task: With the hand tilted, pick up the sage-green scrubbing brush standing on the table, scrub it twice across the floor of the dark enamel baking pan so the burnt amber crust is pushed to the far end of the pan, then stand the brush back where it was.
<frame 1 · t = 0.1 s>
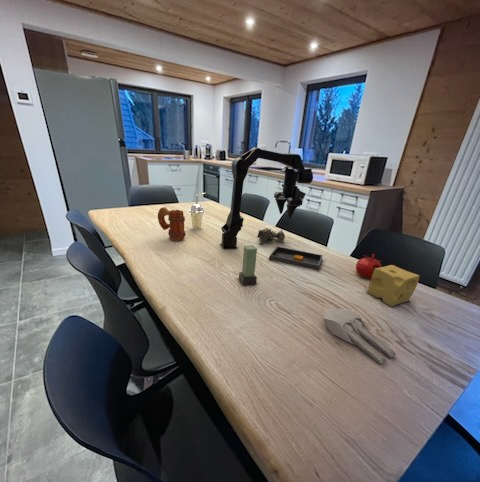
hand: (285, 216, 130), 15 cm above the table, tool pointing down, fingers open, 9 cm apart
turret: (353, 338, 72), on the table
pan: (295, 260, 118), on the table
pomegranate: (366, 275, 109), on the table
mug: (172, 238, 133), on the table
crust: (298, 259, 117), point 1 cm above the table, touching pan
cup with straw: (197, 229, 150), on the table
cheese: (387, 297, 94), on the table
brown spiky lump: (270, 242, 139), on the table
brush: (247, 281, 97), on the table
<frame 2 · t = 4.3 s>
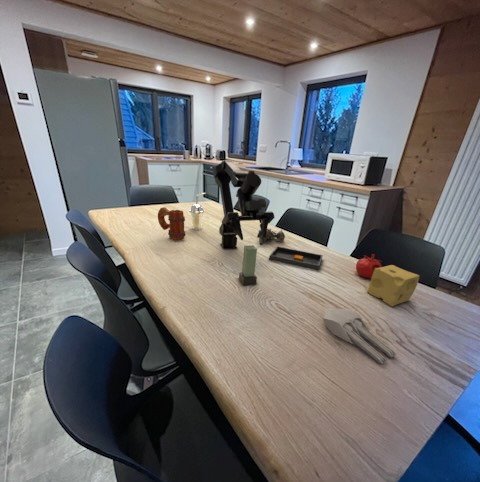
hand: (253, 239, 99), 14 cm above the table, tool tilted 40°, fingers open, 9 cm apart
nothing on the table moved.
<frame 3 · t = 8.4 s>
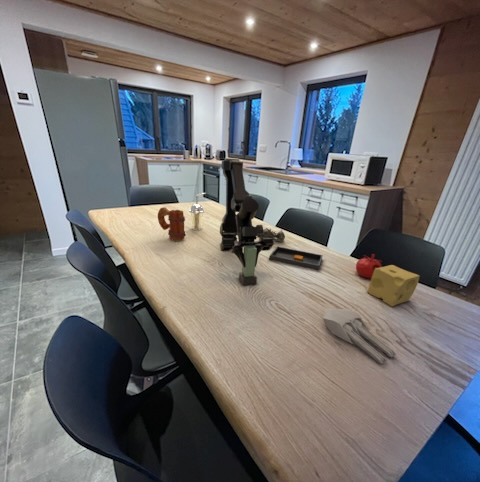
hand: (249, 266, 92), 7 cm above the table, tool tilted 45°, fingers closed on brush, 3 cm apart
brush: (247, 281, 97), on the table, touching gripper
everything else where it was.
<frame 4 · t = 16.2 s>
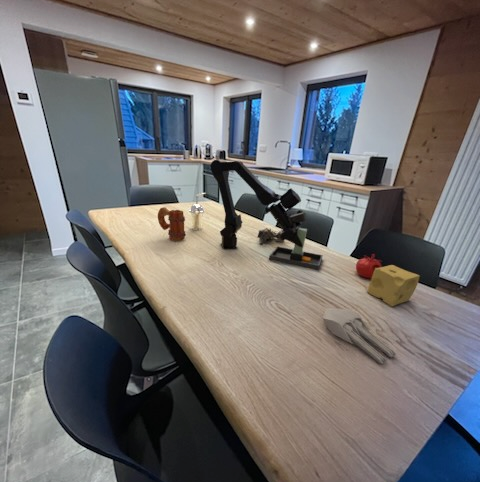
hand: (302, 245, 114), 8 cm above the table, tool tilted 45°, fingers closed on brush, 3 cm apart
crust: (305, 261, 116), point 1 cm above the table, touching brush, pan
brush: (296, 258, 117), point 1 cm above the table, touching crust, gripper
everything else where it was.
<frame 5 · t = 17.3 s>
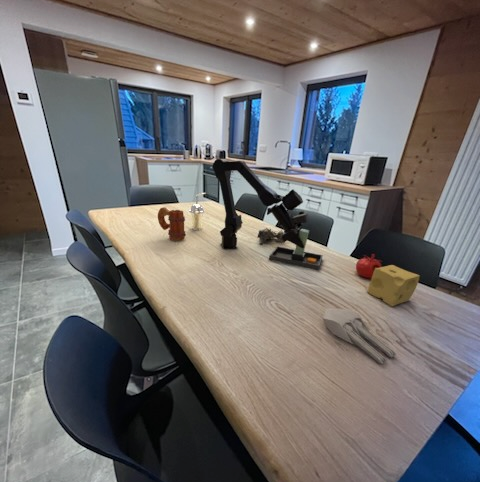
hand: (304, 246, 114), 7 cm above the table, tool tilted 45°, fingers closed on brush, 3 cm apart
crust: (311, 262, 115), point 1 cm above the table, touching pan
brush: (297, 259, 117), point 1 cm above the table, touching gripper
everything else where it was.
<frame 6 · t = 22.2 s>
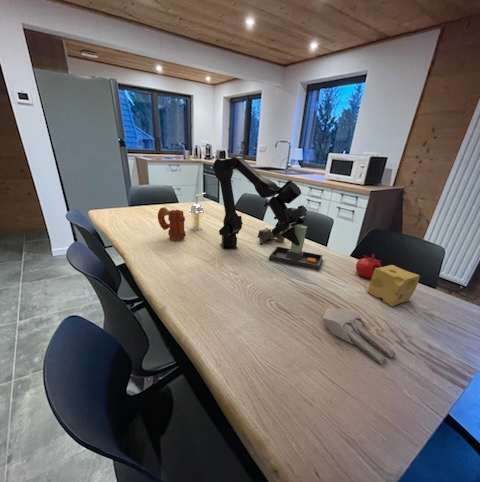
hand: (300, 244, 103), 11 cm above the table, tool tilted 45°, fingers closed on brush, 3 cm apart
brush: (294, 258, 107), point 5 cm above the table, touching gripper
everything else where it was.
when the fingers open (7 cm above the table, at t = 26.6 s): brush stays where it is, on the table.
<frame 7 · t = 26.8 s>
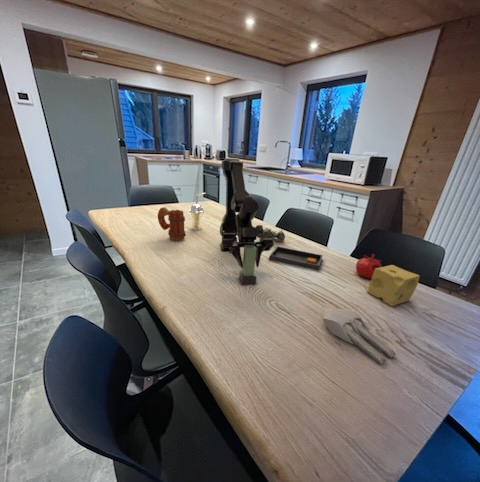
hand: (249, 267, 92), 7 cm above the table, tool tilted 45°, fingers open, 5 cm apart
brush: (247, 281, 97), on the table
everything else where it was.
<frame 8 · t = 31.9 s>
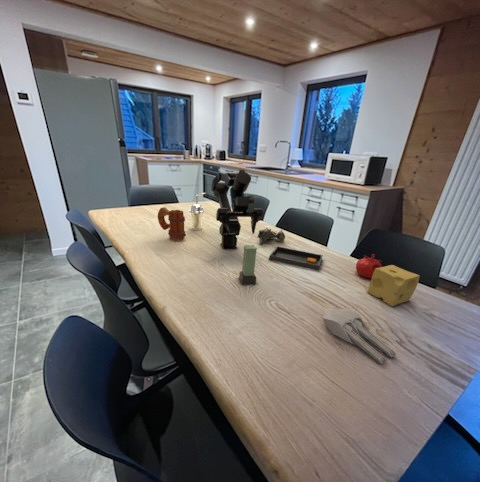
hand: (242, 233, 104), 14 cm above the table, tool tilted 45°, fingers open, 9 cm apart
nothing on the table moved.
at the end: crust moved 5.7 cm from its start; crust inside the target area in the pan (6.7 cm from its centre), point 0.6 cm above the pan's base; brush tilted 0° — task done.
